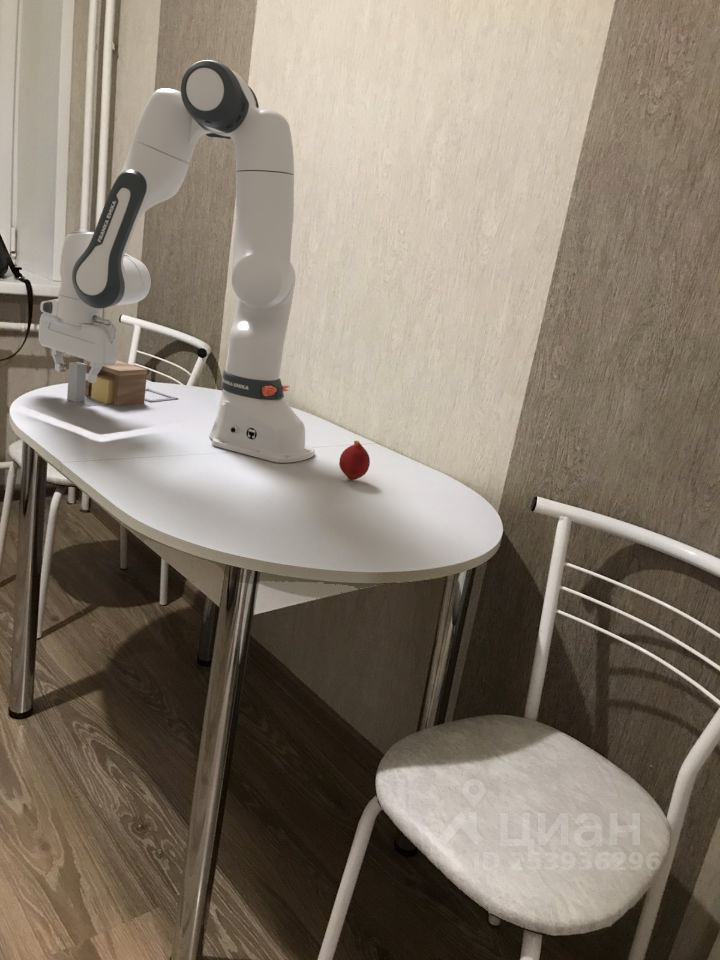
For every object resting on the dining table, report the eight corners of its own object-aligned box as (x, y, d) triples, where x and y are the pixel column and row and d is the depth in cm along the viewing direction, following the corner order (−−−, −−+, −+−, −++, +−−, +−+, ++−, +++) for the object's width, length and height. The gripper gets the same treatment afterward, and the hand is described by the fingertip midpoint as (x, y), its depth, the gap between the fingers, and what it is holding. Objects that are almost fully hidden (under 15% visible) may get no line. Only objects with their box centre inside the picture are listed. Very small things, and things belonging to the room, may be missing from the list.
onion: (359, 476, 146) (366, 437, 144) (370, 486, 141) (378, 446, 139) (332, 474, 144) (339, 435, 141) (342, 484, 139) (349, 444, 136)
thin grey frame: (177, 404, 177) (178, 398, 176) (150, 407, 169) (150, 401, 169) (147, 394, 181) (147, 388, 181) (119, 397, 173) (119, 391, 173)
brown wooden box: (143, 408, 167) (147, 369, 165) (116, 411, 161) (119, 371, 158) (112, 398, 172) (115, 359, 169) (84, 400, 165) (87, 361, 162)
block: (124, 401, 165) (126, 379, 164) (107, 403, 161) (108, 381, 159) (108, 396, 167) (110, 374, 166) (91, 398, 163) (92, 375, 162)
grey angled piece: (140, 404, 169) (144, 366, 166) (87, 411, 156) (89, 369, 153) (121, 398, 172) (124, 359, 169) (66, 403, 159) (69, 362, 156)
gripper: (127, 322, 152) (121, 387, 156) (59, 302, 160) (55, 365, 164) (103, 321, 146) (97, 389, 150) (34, 301, 155) (31, 366, 159)
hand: (75, 376), depth 157 cm, fingers open, 8 cm apart
